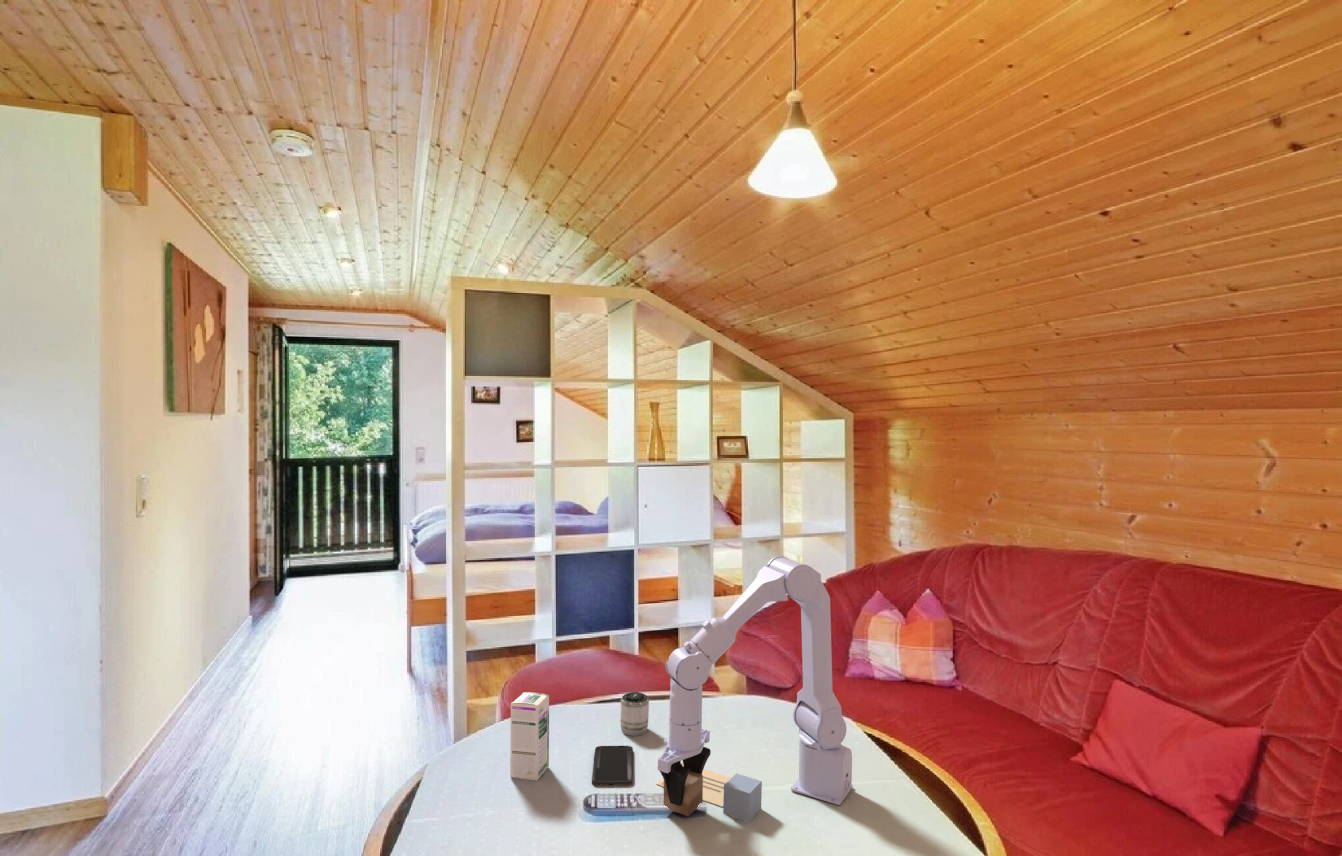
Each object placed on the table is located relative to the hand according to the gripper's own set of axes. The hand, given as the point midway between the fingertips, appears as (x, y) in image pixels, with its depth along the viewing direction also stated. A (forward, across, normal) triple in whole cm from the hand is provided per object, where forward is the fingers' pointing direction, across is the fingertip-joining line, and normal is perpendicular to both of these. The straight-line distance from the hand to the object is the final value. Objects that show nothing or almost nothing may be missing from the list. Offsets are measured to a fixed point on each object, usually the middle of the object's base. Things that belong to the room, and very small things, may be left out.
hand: (684, 796), depth 121 cm
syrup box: (+3, +5, -32) cm, 33 cm away
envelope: (+3, -10, -2) cm, 11 cm away
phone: (+3, -6, -20) cm, 21 cm away
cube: (+3, -6, +8) cm, 11 cm away
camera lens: (+3, -22, -26) cm, 34 cm away
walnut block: (+2, 0, 0) cm, 2 cm away
